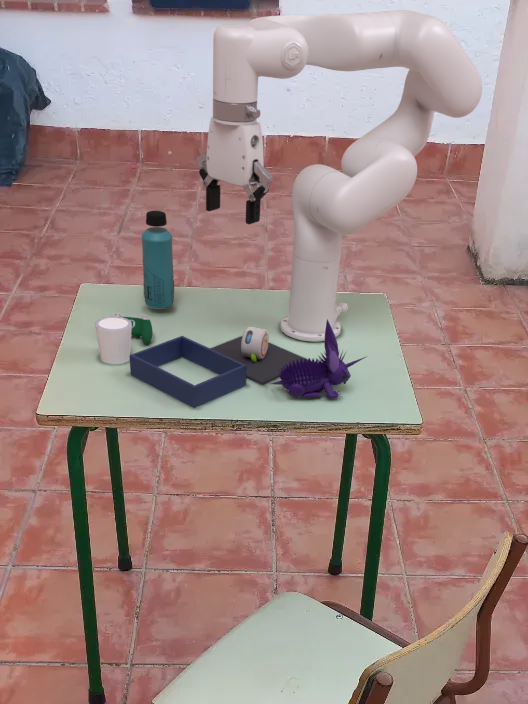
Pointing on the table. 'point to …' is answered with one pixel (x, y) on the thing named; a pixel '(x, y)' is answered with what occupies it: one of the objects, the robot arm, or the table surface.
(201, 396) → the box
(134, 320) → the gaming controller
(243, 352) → the roller toy
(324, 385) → the creature
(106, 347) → the white cup
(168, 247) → the beverage bottle
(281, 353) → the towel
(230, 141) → the robot arm
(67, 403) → the table surface
